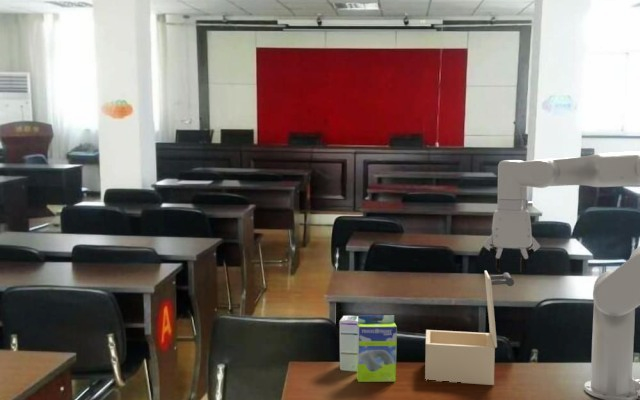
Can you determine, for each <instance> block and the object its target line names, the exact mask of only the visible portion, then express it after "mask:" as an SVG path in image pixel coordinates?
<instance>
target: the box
mask: <svg viewBox="0 0 640 400" xmlns="http://www.w3.org/2000/svg"><path fill="white" fill-rule="evenodd" d="M357 316H358V324H357V330H358V339H357V371H356V380H357V382H358V383H362V382H363V383H372V382H373V383H376V382H378V383H379V382H383V383H384V382H394V383H395V382H396V381H397V380H396V378H397V377H396V376H397V345H398V344H397V342H398V341H397V339H398V337H397V336H398V335H397V334H398V333H397V331H398V329H397V328H398V327H397V325H396V323H395V315H393V314H390V315H389V314H388V315H387V314H386V315H385V314H384V315H380V314H378V315H376V314H375V315H373V314H372V315H371V314H370V315H357ZM376 318H377V319H381V320H372V319H376Z"/></svg>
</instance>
